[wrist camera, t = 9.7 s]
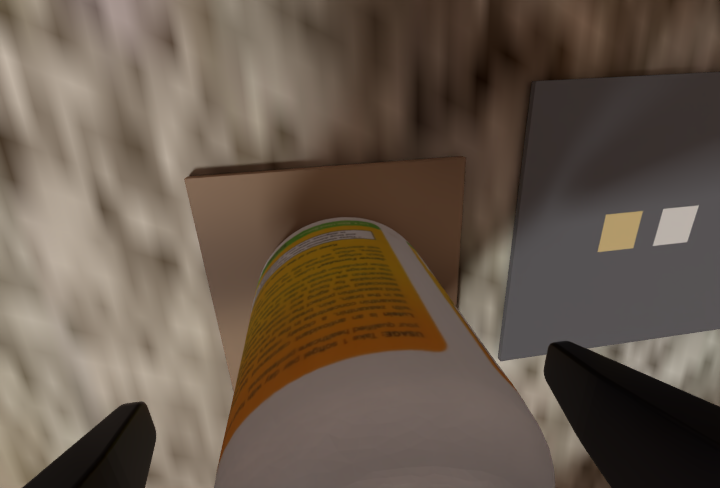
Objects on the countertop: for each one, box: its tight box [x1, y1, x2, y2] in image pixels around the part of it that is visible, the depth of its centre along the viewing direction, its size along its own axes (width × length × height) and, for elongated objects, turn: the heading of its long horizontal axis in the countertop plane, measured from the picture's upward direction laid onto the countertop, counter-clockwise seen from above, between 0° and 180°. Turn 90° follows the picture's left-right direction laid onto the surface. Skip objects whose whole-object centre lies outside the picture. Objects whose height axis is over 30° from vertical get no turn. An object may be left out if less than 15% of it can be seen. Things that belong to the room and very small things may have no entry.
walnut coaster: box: [184, 156, 466, 391], centre depth 12 cm, size 8×8×1 cm
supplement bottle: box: [214, 217, 555, 488], centre depth 8 cm, size 5×5×10 cm
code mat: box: [498, 72, 720, 361], centre depth 13 cm, size 10×10×1 cm
